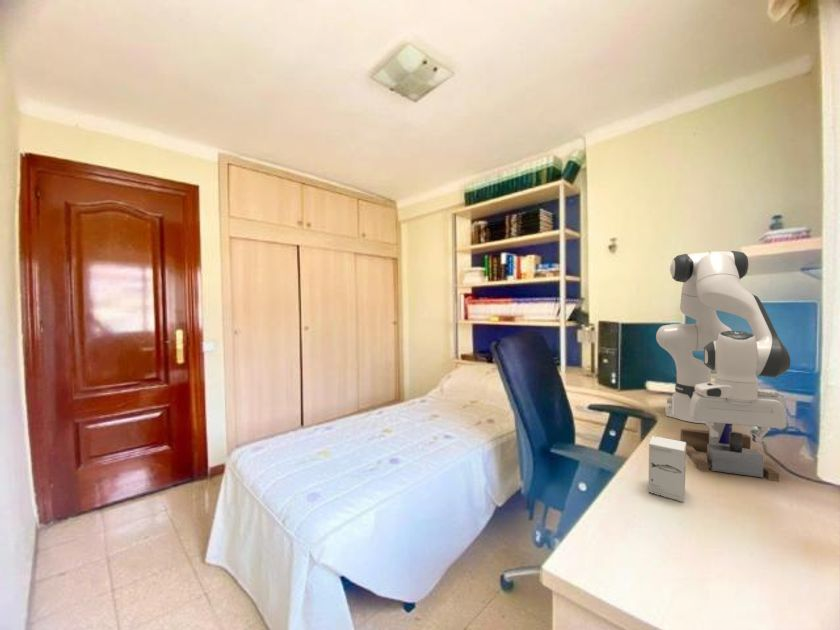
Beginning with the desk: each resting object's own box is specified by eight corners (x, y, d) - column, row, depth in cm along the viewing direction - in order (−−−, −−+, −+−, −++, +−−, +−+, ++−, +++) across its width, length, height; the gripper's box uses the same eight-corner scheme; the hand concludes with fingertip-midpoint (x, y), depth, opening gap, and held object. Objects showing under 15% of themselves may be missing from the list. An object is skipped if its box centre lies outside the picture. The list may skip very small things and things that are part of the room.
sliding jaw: (706, 464, 102) (707, 427, 102) (755, 471, 98) (756, 431, 98) (712, 471, 98) (712, 432, 98) (763, 478, 94) (764, 437, 94)
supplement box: (647, 493, 88) (647, 443, 87) (651, 481, 93) (651, 434, 93) (684, 503, 83) (684, 450, 83) (686, 490, 88) (686, 441, 88)
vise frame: (680, 446, 116) (680, 427, 116) (746, 454, 109) (746, 434, 109) (699, 470, 99) (699, 448, 99) (778, 481, 93) (778, 457, 93)
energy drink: (736, 462, 104) (736, 422, 104) (715, 461, 105) (715, 421, 105) (724, 455, 109) (724, 417, 109) (704, 453, 110) (705, 416, 110)
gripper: (779, 390, 96) (778, 440, 96) (688, 384, 104) (687, 431, 104) (792, 396, 90) (791, 449, 90) (695, 389, 98) (694, 438, 98)
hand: (735, 439), depth 97 cm, fingers open, 8 cm apart
